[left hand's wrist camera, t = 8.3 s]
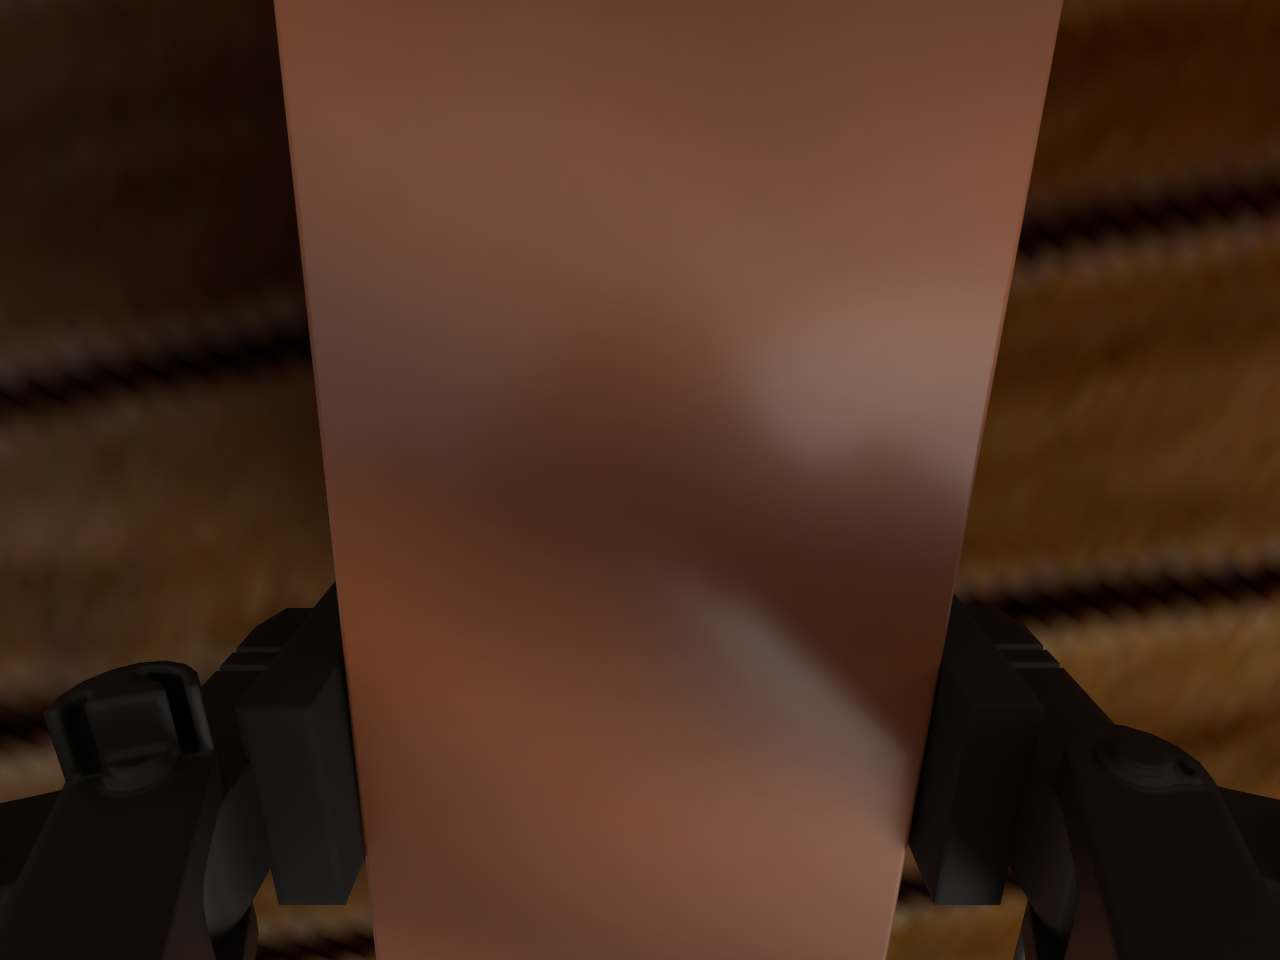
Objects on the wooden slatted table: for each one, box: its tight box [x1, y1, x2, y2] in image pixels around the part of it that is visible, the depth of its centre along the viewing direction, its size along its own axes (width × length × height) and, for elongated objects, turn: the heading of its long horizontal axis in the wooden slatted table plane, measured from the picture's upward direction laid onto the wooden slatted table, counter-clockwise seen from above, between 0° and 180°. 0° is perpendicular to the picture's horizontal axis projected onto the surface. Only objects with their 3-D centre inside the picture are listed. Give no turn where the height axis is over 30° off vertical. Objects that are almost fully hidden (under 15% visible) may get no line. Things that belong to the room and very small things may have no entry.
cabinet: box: [274, 0, 1063, 960], centre depth 12 cm, size 17×7×9 cm, turn 178°
